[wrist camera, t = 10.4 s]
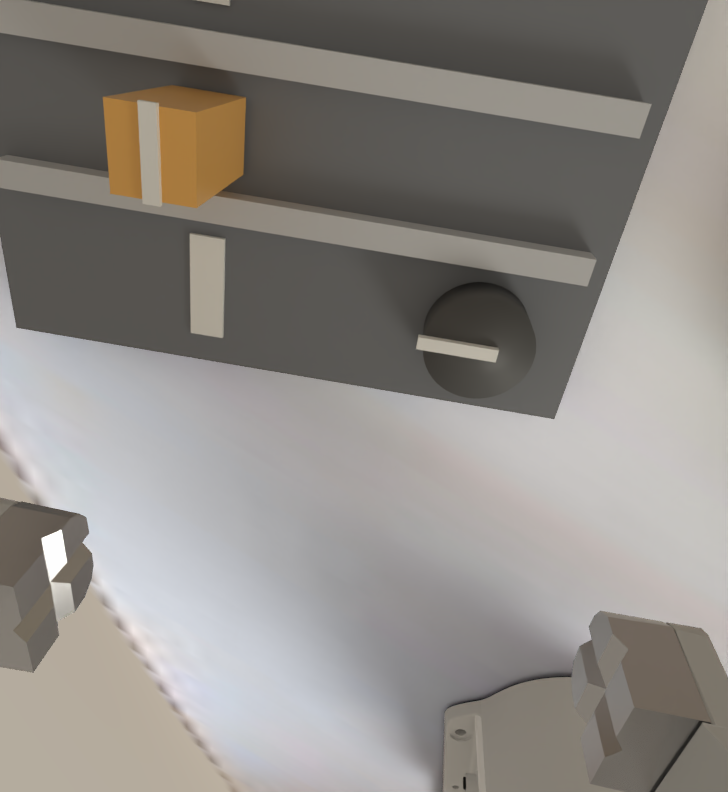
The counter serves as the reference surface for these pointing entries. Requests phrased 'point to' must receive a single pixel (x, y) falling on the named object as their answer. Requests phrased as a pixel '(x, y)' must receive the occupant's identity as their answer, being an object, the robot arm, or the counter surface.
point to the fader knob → (174, 144)
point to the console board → (343, 182)
